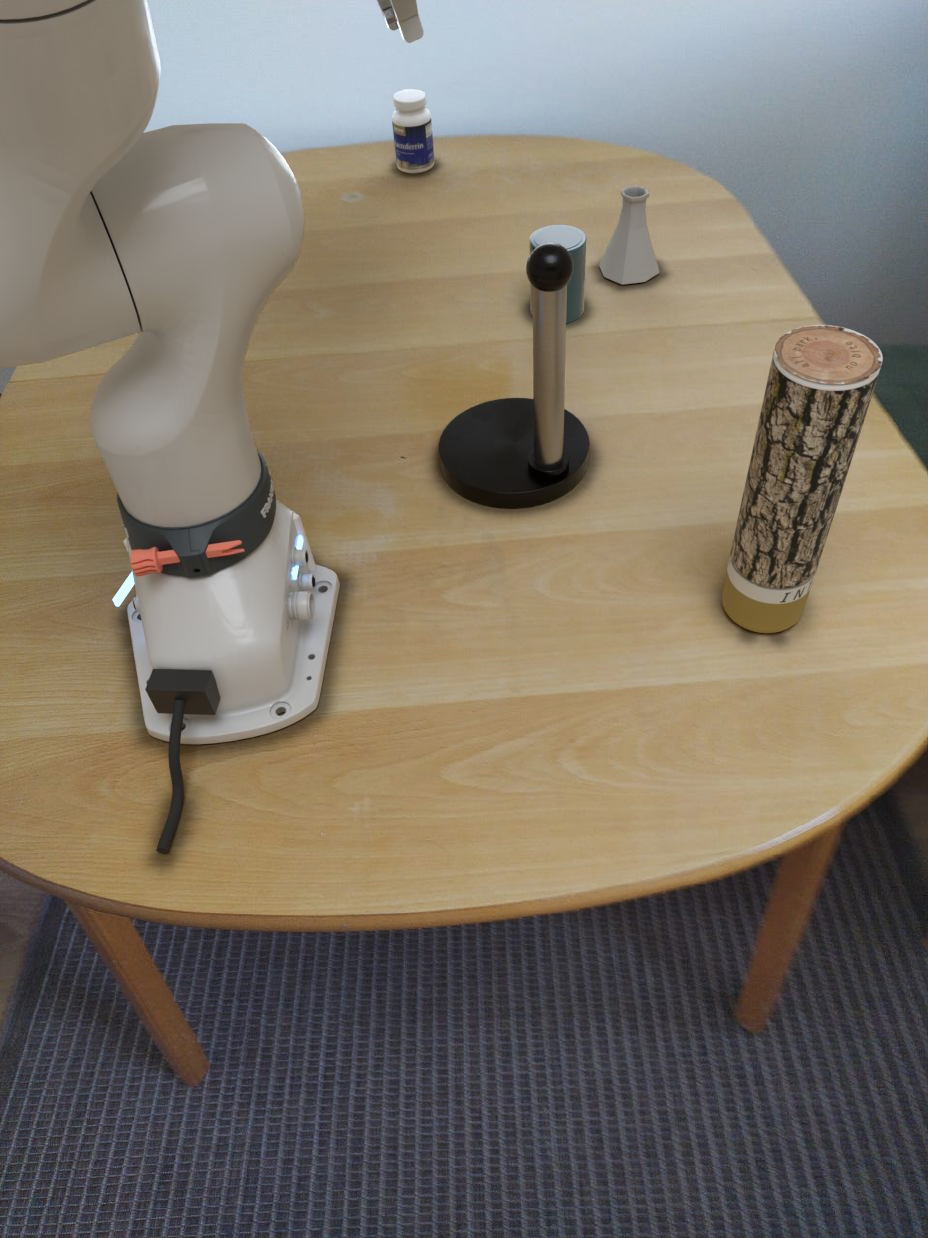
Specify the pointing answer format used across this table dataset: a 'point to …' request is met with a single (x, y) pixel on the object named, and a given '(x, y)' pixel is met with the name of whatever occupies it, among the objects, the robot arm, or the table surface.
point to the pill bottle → (412, 132)
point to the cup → (576, 247)
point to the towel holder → (524, 414)
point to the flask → (630, 242)
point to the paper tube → (797, 471)
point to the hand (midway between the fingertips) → (405, 33)
